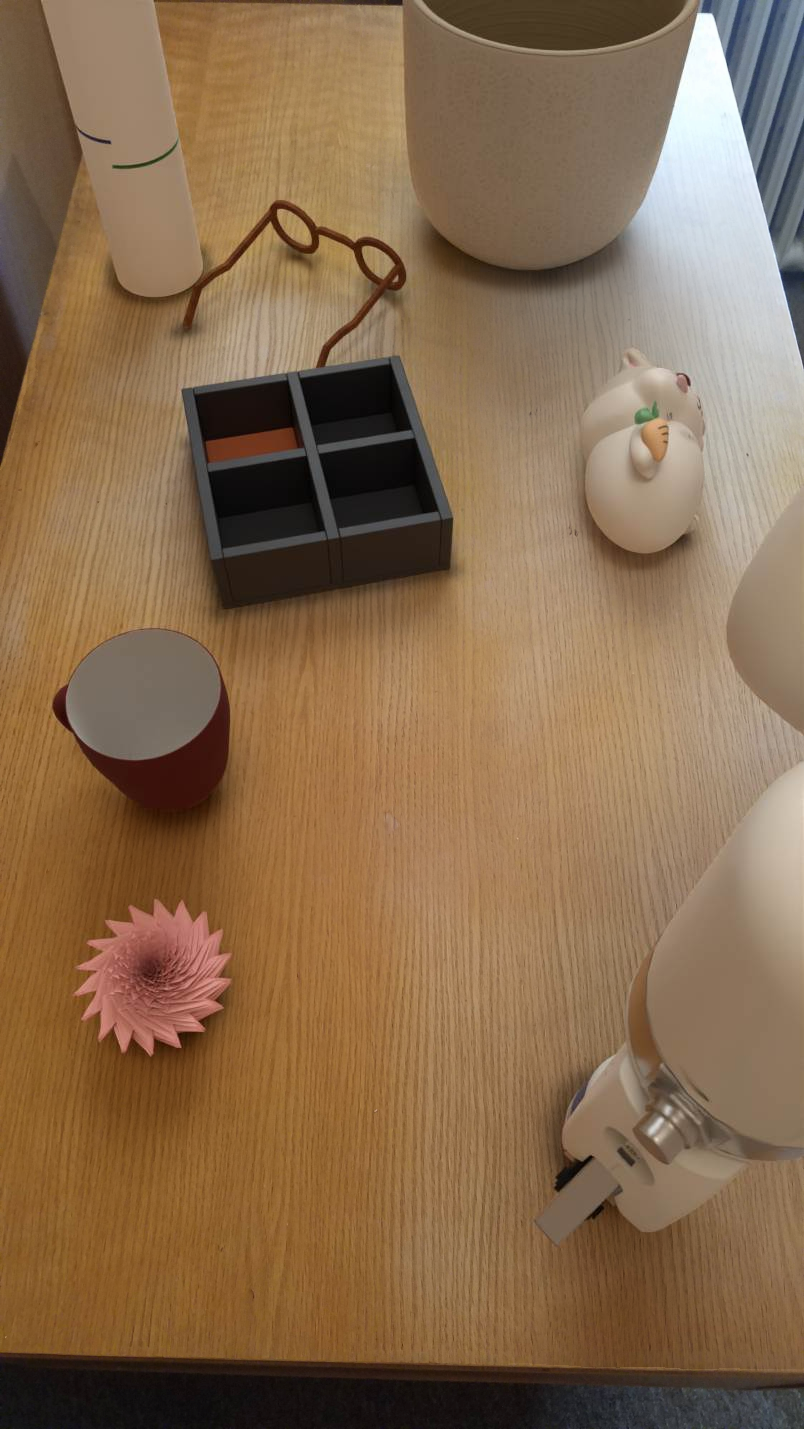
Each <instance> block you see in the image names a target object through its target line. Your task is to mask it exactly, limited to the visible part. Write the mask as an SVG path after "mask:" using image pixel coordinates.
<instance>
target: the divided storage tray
mask: <svg viewBox="0 0 804 1429" xmlns="http://www.w3.org/2000/svg"><path fill="white" fill-rule="evenodd" d="M180 390H181V395H182V402H183V410H184V414H185V420H186V427H187V431H188V437H189V443H190V449H191V455H192V461H193V466H194V467H193V468H194V472H195V479H196V484H197V490H198V495H199V496H198V497H199V501H200V508H201V513H202V520H203V525H204V530H205V536H206V542H207V548H208V554H209V561H210V565H211V568H212V572H213V576H214V580H215V585H216V588H217V592H218V597H219V600H220V604H221V607H222V610H227V609H233V608H239V607H245V606H249V605H254V604H261V603H267V602H271V601H278V600H284V599H289V598H294V597H299V596H304V595H312V594H316V593H322V592H327V591H332V590H339V589H343V588H349V587H355V586H361V585H367V584H371V583H378V582H383V581H387V580H393V579H399V578H405V577H409V576H411V577H412V576H415V575H416V576H417V575H421V574H427V573H432V572H438V571H443V570H449V569H450V568H451V561H452V560H451V559H452V544H453V531H454V515H453V512H452V510H451V506H450V503H449V500H448V497H447V494H446V491H445V488H444V485H443V481H442V479H441V475H440V473H439V470H438V467H437V464H436V462H435V458H434V455H433V452H432V448H431V445H430V442H429V440H428V436H427V435H426V431H425V428H424V425H423V422H422V419H421V415H420V413H419V410H418V407H417V404H416V400H415V398H414V395H413V392H412V388H411V386H410V383H409V380H408V377H407V374H406V371H405V368H404V365H403V362H402V358H401V356H400V355H399V354H397V355H391V356H386V357H379V358H372V359H366V360H359V361H354V362H347V363H340V364H333V365H327V366H325V367H320V368H316V367H313V368H309V369H301V370H298V371H297V370H294V371H287V372H282V373H274V374H269V375H263V376H255V377H249V378H244V379H237V380H230V381H224V382H218V383H211V384H205V385H204V384H203V385H198V386H193V387H184V388H181V389H180Z"/></svg>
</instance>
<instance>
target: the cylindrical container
mask: <svg viewBox="0 0 804 1429" xmlns="http://www.w3.org/2000/svg"><path fill="white" fill-rule="evenodd" d="M40 1H41V6H42V10H43V14H44V16H45V21H46V25H47V28H48V31H49V35H50V39H51V42H52V46H53V50H54V53H55V56H56V61H57V64H58V68H59V72H60V75H61V79H62V82H63V86H64V89H65V94H66V97H67V100H68V103H69V108H70V111H71V114H72V118H73V122H74V125H75V129H76V133H77V136H78V140H79V144H80V147H81V152H82V155H83V159H84V162H85V166H86V169H87V173H88V177H89V181H90V184H91V189H92V192H93V195H94V199H95V202H96V206H97V211H98V213H99V217H100V221H101V224H102V228H103V231H104V235H105V239H106V243H107V246H108V250H109V253H110V257H111V260H112V265H113V268H114V271H115V272H114V273H115V274H116V279H117V281H118V283H119V284H120V286H121V287H122V288H124V289H125V291H128V292H129V293H131V294H134V295H137V296H140V297H145V298H165V297H169V296H173V295H177V294H179V293H182V292H184V291H186V290H188V289H190V288H191V287H192V286H194V285H195V284H196V283H197V282H198V281H199V280H200V279H201V278H200V277H201V276H202V274H203V270H204V261H203V255H202V251H201V246H200V241H199V235H198V231H197V225H196V220H195V213H194V208H193V204H192V199H191V192H190V188H189V181H188V177H187V172H186V165H185V161H184V155H183V152H182V151H183V150H182V145H181V140H180V135H179V130H178V129H179V128H178V124H177V118H176V114H175V108H174V102H173V97H172V91H171V87H170V82H169V75H168V70H167V64H166V60H165V54H164V49H163V44H162V38H161V33H160V28H159V22H158V18H157V11H156V7H155V2H154V0H40Z"/></svg>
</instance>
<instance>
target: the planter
mask: <svg viewBox="0 0 804 1429" xmlns="http://www.w3.org/2000/svg"><path fill="white" fill-rule="evenodd" d="M700 4H701V0H402V37H403V38H402V41H403V44H402V45H403V84H404V86H403V90H404V119H405V120H404V121H405V138H406V149H407V150H406V152H407V158H408V165H409V166H408V167H409V172H410V178H411V183H412V186H413V190H414V193H415V196H416V199H417V201H418V203H419V205H420V208H421V210H422V212H423V213H424V215H425V216H426V218H427V219H428V221H429V222H430V224H431V225H432V226H433V227H434V229H435V230H436V231H437V232H438V233H439V234H440V235H441V236H442V237H443V238H444V239H445V240H447V241H448V242H449V243H450V244H451V245H453V247H455V248H456V249H458V250H460V251H461V252H463V253H465V254H467V255H468V256H471V257H472V258H474V259H475V260H479V261H481V262H483V263H486V264H488V265H492V266H495V267H499V268H504V269H508V270H509V269H510V270H517V271H541V270H542V271H543V270H549V269H554V268H559V267H563V266H566V265H570V264H573V263H575V262H578V261H581V260H584V259H585V258H588V257H590V256H592V255H593V254H595V253H597V252H598V251H600V250H602V249H603V248H605V247H606V246H608V245H609V244H611V243H612V242H613V241H614V240H616V238H617V237H618V236H620V235H621V233H623V232H624V231H625V230H626V228H627V227H628V226H629V224H631V222H632V221H633V219H634V218H635V216H636V215H637V214H638V212H639V210H640V209H641V206H642V205H643V203H644V201H645V199H646V196H647V194H648V191H649V189H650V186H651V184H652V182H653V179H654V176H655V173H656V171H657V168H658V165H659V161H660V158H661V155H662V151H663V149H664V145H665V142H666V138H667V134H668V130H669V126H670V123H671V120H672V117H673V116H672V115H673V111H674V108H675V104H676V100H677V96H678V93H679V92H678V91H679V88H680V84H681V81H682V76H683V73H684V70H685V69H684V68H685V65H686V62H687V57H688V54H689V50H690V45H691V42H692V38H693V34H694V30H695V26H696V21H697V17H698V14H699V8H700Z"/></svg>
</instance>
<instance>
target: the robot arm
mask: <svg viewBox="0 0 804 1429" xmlns="http://www.w3.org/2000/svg"><path fill="white" fill-rule="evenodd" d="M725 628H726V645H727V649H728V653H729V658H730V660H731V662H732V664H733V666H734V668H735V671H736V672H737V674H738V675H739V678H741V679H742V681H743V682H744V683H745V685H746V686H747V688H749V689H750V691H752V693H753V694H754V696H756V697H757V698H758V699H759V700H760V701H761V702H763V703H764V704H765V705H766V706H767V707H768V708H769V709H771V710H772V711H773V712H774V713H775V714H777V715H778V716H779V717H781V718H782V719H783V720H784V721H785V722H786V723H788V724H789V725H790V726H791V727H792V728H793V729H795V730H796V731H797V732H799V733H800V734H801V735H802V736H804V483H803V484H802V486H801V487H800V488H799V489H798V491H796V493H795V495H794V496H793V498H791V500H790V502H789V503H788V505H787V506H786V507H785V509H783V511H782V513H781V514H780V516H779V517H778V519H777V520H776V522H775V523H774V524H773V526H772V527H771V528H770V530H769V531H768V533H767V534H766V535H765V537H764V539H763V541H762V542H761V544H760V545H759V547H758V549H757V551H756V552H755V553H754V555H753V557H752V558H751V561H750V562H749V563H748V565H747V567H746V569H745V570H744V572H743V573H742V576H741V578H740V581H739V583H738V585H737V587H736V589H735V592H734V594H733V596H732V600H731V603H730V606H729V610H728V615H727V620H726V627H725ZM623 1020H624V1024H623V1025H624V1027H623V1029H624V1036H625V1042H624V1043H622V1046H621V1047H620V1048H619V1050H618V1051H617V1052H616V1053H615V1054H616V1055H615V1054H614V1055H615V1056H614V1057H613V1058H612V1060H611V1061H610V1062H609V1064H608V1065H607V1066H606V1068H605V1069H604V1071H603V1072H602V1073H601V1075H600V1076H599V1077H598V1079H597V1080H596V1081H595V1083H594V1084H593V1085H592V1087H591V1088H590V1089H589V1091H588V1092H587V1094H586V1095H585V1096H584V1098H583V1099H582V1101H581V1102H580V1103H579V1105H578V1106H577V1108H576V1109H575V1110H574V1112H573V1113H572V1115H571V1116H570V1118H569V1119H568V1121H567V1122H566V1124H565V1123H564V1125H563V1128H562V1132H561V1141H562V1143H561V1147H562V1149H563V1150H564V1152H563V1154H564V1155H565V1156H566V1157H567V1158H568V1160H570V1162H571V1163H570V1164H569V1166H563V1168H562V1169H561V1170H560V1171H559V1172H558V1173H557V1175H555V1180H556V1182H555V1183H554V1184H555V1185H554V1186H553V1189H554V1190H555V1191H556V1194H554V1195H553V1197H552V1198H551V1199H550V1200H549V1201H548V1202H547V1204H546V1205H545V1206H544V1207H543V1208H542V1209H541V1211H540V1212H539V1213H538V1214H537V1215H536V1216H535V1218H533V1220H532V1222H533V1223H534V1224H535V1225H536V1226H537V1228H538V1229H540V1231H541V1232H542V1233H543V1234H544V1235H545V1236H546V1237H547V1238H548V1240H549V1241H550V1242H551V1243H552V1244H553V1245H554V1247H555V1248H559V1246H560V1245H561V1244H562V1243H563V1242H564V1241H565V1240H566V1239H567V1238H568V1237H569V1236H570V1235H571V1234H572V1233H573V1232H574V1231H576V1229H578V1227H580V1225H581V1224H583V1222H586V1221H587V1220H590V1219H592V1220H596V1218H597V1217H598V1216H600V1215H601V1213H602V1212H603V1211H604V1209H605V1206H603V1204H604V1203H605V1200H607V1201H608V1202H609V1204H611V1205H612V1207H617V1210H618V1211H619V1213H620V1214H621V1216H623V1217H624V1218H625V1219H626V1220H627V1221H628V1222H629V1223H631V1224H632V1226H634V1227H635V1228H636V1229H637V1230H638V1231H639V1232H642V1233H653V1232H657V1231H660V1230H662V1229H664V1228H666V1227H668V1226H670V1225H672V1224H674V1223H675V1222H677V1221H679V1220H680V1219H683V1218H684V1217H685V1216H687V1215H689V1214H690V1213H692V1212H693V1211H695V1210H696V1209H698V1208H700V1207H701V1206H702V1205H703V1204H704V1203H706V1202H707V1201H709V1200H710V1199H711V1198H712V1197H714V1196H715V1195H716V1194H718V1193H719V1192H720V1191H722V1190H723V1189H724V1188H725V1187H726V1186H727V1185H729V1184H730V1183H731V1182H732V1181H733V1180H734V1179H735V1178H736V1177H738V1176H739V1175H740V1174H741V1173H742V1172H743V1171H744V1170H746V1168H748V1167H749V1166H750V1165H751V1164H752V1163H754V1164H776V1163H785V1162H789V1161H793V1160H797V1159H801V1158H804V760H802V761H801V762H798V764H796V765H794V766H793V767H791V768H790V769H788V770H786V771H785V772H784V773H783V774H781V775H780V776H779V777H777V779H775V780H774V781H773V782H772V783H771V784H770V785H769V786H768V787H767V788H766V789H765V790H764V791H763V793H762V794H761V795H760V796H759V797H758V798H757V800H756V801H755V802H754V803H753V804H752V805H751V807H750V808H749V809H748V811H747V812H746V813H745V815H744V816H743V817H742V819H741V820H740V821H739V823H738V825H737V826H736V827H735V828H734V830H733V831H732V833H731V834H730V836H729V837H728V839H727V840H726V841H725V843H724V844H723V846H722V847H721V848H720V850H719V851H718V853H717V854H716V856H714V858H713V859H712V861H711V863H710V864H709V865H708V867H707V869H706V870H705V871H704V873H703V874H702V875H701V877H700V878H699V880H698V881H697V882H696V884H695V885H694V887H693V889H692V890H691V891H690V893H689V894H688V895H687V897H686V898H685V899H684V901H683V902H682V904H681V906H679V908H678V909H677V911H676V912H675V914H674V915H673V917H672V918H671V920H670V921H669V922H668V924H667V926H666V927H665V929H664V930H663V932H662V933H661V934H660V935H659V937H658V938H657V940H656V941H655V943H654V944H653V945H652V947H651V948H650V950H649V951H648V952H647V954H646V955H645V957H644V958H643V959H642V960H641V962H640V964H639V965H638V967H637V969H636V971H635V972H634V974H633V977H632V979H631V982H630V984H629V987H628V990H627V995H626V1000H625V1006H624V1019H623Z"/></svg>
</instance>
